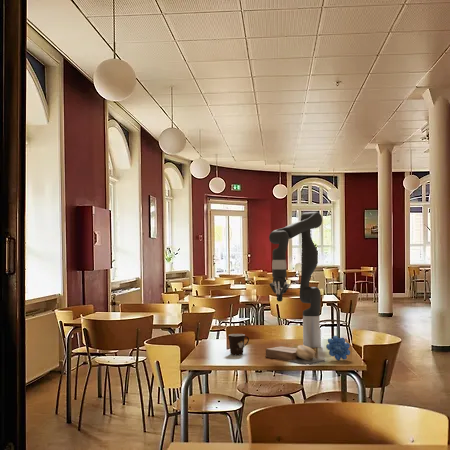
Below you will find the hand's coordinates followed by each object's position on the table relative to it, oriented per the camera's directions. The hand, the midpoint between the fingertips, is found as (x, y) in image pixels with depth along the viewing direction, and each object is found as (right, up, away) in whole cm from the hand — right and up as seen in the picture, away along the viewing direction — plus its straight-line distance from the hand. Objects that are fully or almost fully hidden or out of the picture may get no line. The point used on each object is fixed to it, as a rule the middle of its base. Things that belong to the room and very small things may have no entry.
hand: (279, 301), depth 333 cm
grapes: (+27, -26, -24) cm, 45 cm away
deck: (+2, -26, -15) cm, 31 cm away
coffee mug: (-21, -27, -4) cm, 35 cm away
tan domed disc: (+10, -23, -24) cm, 35 cm away
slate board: (+11, -26, -27) cm, 39 cm away
